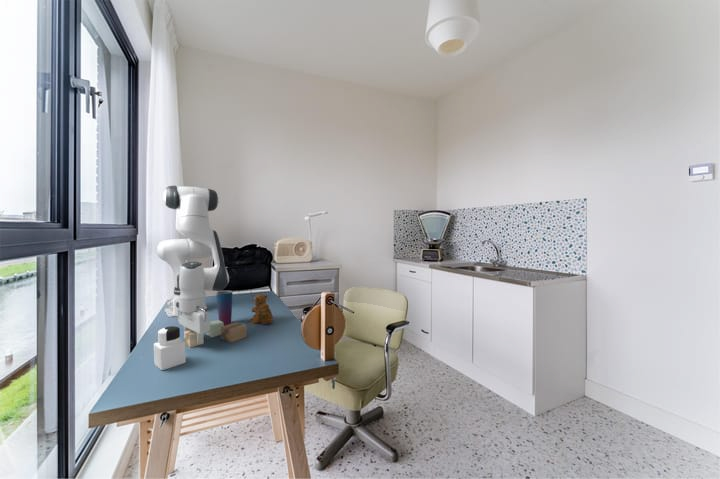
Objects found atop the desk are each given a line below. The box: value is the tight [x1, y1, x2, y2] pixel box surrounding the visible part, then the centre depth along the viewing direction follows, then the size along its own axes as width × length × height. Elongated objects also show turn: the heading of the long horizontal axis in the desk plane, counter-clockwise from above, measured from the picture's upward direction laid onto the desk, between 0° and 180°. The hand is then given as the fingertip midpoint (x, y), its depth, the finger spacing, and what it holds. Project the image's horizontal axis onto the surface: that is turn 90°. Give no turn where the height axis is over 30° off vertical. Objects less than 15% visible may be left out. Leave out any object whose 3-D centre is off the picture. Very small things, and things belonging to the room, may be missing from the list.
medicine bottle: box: [153, 325, 187, 371], centre depth 97 cm, size 7×7×12 cm
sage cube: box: [205, 319, 224, 338], centre depth 124 cm, size 5×5×5 cm
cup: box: [215, 290, 233, 326], centre depth 136 cm, size 7×7×15 cm
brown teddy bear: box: [249, 293, 274, 326], centre depth 139 cm, size 10×14×13 cm
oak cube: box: [183, 330, 205, 349], centre depth 113 cm, size 5×5×5 cm
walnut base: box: [220, 321, 248, 343], centre depth 120 cm, size 7×7×5 cm
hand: (193, 339), depth 114 cm, fingers open, 8 cm apart
